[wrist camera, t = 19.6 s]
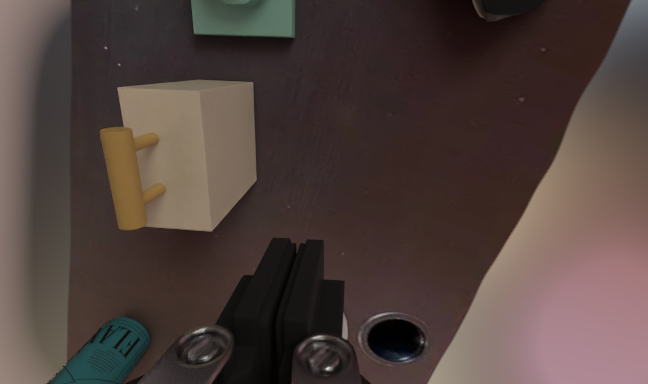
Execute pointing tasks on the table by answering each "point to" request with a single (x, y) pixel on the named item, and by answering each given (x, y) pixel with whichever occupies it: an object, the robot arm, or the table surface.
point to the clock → (181, 153)
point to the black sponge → (503, 8)
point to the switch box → (244, 18)
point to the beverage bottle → (107, 354)
